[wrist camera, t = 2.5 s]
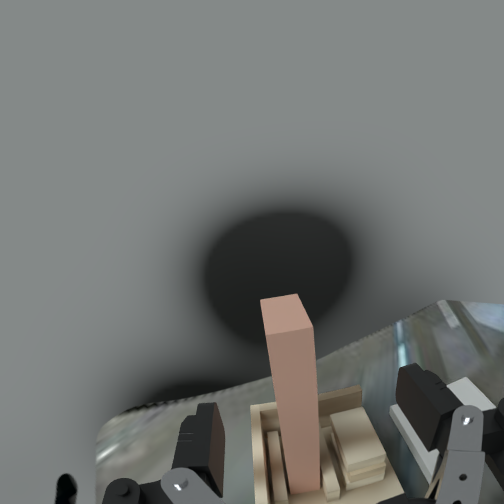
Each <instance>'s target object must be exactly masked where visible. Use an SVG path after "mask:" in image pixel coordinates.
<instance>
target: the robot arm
mask: <svg viewBox="0 0 504 504" xmlns="http://www.w3.org/2000/svg"><path fill="white" fill-rule="evenodd" d="M396 401H397V404H398V406H399V408H400V409H401V411H402V412H403V414H404V415H405V417H406V418H407V420H408V421H409V423H410V424H411V426H412V428H413V429H414V431H415V432H416V434H417V435H418V437H419V439H420V440H421V442H422V443H423V445H424V447H425V448H426V450H427V451H428V452H430V451H433V450H435V449H437V450H438V451H439V454H438V456H437V460H436V464H435V468H434V472H433V475H432V479H431V482H430V486H429V489H428V491H427V494H426V496H425V498H407V496H406V494H405V493H403V494H400V495H397V496H394V497H392V498H389V499H386V500H383V501H380V502H378V503H376V504H478V500H479V495H480V489H481V483H482V476H483V469H484V460H485V462H486V463H487V465H488V467H489V468H490V470H491V471H492V473H493V474H494V476H495V478H496V479H497V481H498V482H499V484H500V486H501V487H502V489H503V491H504V398H503V399H501V400H500V402H499V404H498V407H497V408H494V409H489V410H485V411H481V410H480V409H479V408H478V407H476V406H473V405H464V404H463V403H462V402H461V401H460V400H459V399H458V398H457V397H456V395H455V394H454V393H453V392H452V391H451V390H450V389H449V388H447V386H446V384H445V383H444V382H442V380H441V379H440V378H439V377H438V376H437V375H436V374H434V373H432V372H430V371H428V370H425V371H423V370H422V369H421V368H420V366H419V365H418V364H417V363H413V364H410V365H406V366H403V367H400V368H399V372H398V379H397V387H396ZM224 454H225V431H224V426H223V423H222V420H221V416H220V413H219V409H218V406H217V403H216V402H213V403H200V404H198V406H197V412H196V415H190V416H187V417H186V418H185V420H184V421H183V422H182V423H181V427H180V432H179V436H178V442H177V446H176V450H175V455H174V460H173V464H172V468H171V470H170V471H168V472H167V473H165V474H164V475H163V477H162V479H161V480H159V481H156V482H151V483H146V484H140V485H138V484H137V483H136V482H135V481H134V480H132V479H129V478H120V479H117V480H114V481H113V482H111V483H110V484H109V485H108V487H107V488H106V491H105V495H104V498H103V502H102V504H225V503H224V502H223V501H222V500H221V499H220V498H223V478H224Z"/></svg>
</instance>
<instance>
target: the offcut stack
mask: <svg viewBox="0 0 504 504" xmlns="http://www.w3.org/2000/svg"><path fill="white" fill-rule="evenodd" d="M330 425H331V427H332V430H333V432H330V442H331V445H332V448H333V451H334V455H335V458H336V461H337V464H338V467H339V470H340V473H341V476H342V480H343V483H344V486H345V489H346V491H347V490H350V489H354V488H358V487H361V486H364V485H368V484H371V483H374V482H377V481H380V480H383V478H384V474H385V468H386V464H385V462H384V460H385V456H386V452H385V450H384V448H383V446H382V444H381V442H380V440H379V438H378V436H377V434H376V432H375V430H374V428H373V426H372V424H371V422H370V420H369V418H368V416H367V414H366V412H365V410H364V408H363V406H362V407H359V408H355V409H351V410H347V411H343V412H339V413H335V414H331V415H330Z"/></svg>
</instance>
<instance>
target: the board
mask: <svg viewBox="0 0 504 504" xmlns="http://www.w3.org/2000/svg"><path fill="white" fill-rule="evenodd" d="M260 302H261V308H262V314H263V321H264V327H265V334H266V340H267V346H268V353H269V359H270V365H271V372H272V378H273V385H274V391H275V397H276V404H277V410H278V417H279V423H280V429H281V436H282V442H283V449H284V455H285V461H286V468H287V474H288V480H289V487H290V493H291V495H292V494H298V493H304V492H309V491H314V490H319V489H320V448H319V417H318V395H317V376H316V361H315V346H314V334H313V326H312V324H311V322H310V320H309V318H308V316H307V313H306V312H305V309H304V307H303V305H302V303H301V301H300V299H299V297H298V295H297V294H292V295H287V296H281V297H275V298H269V299H262V300H260Z"/></svg>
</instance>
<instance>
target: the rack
mask: <svg viewBox="0 0 504 504" xmlns="http://www.w3.org/2000/svg"><path fill="white" fill-rule="evenodd" d="M317 395H318V417H319V448H320V489H319V490H314V491H309V492H304V493H298V494H292V495H291V493H290V487H289V480H288V474H287V468H286V461H285V455H284V449H283V442H282V436H281V429H280V423H279V417H278V410H277V404H276V402H272V403H266V404H258V405H251V427H252V447H253V466H254V485H255V503H256V504H376V503H378V502H380V501H383V500H386V499H389V498H392V497H394V496H397V495H400V494H403V493H404V491H403V489H402V487H401V484H400V482H399V480H398V478H397V476H396V474H395V472H394V470H393V468H392V466H391V464H390V461H389V459H388V457H387V455H386V456H385V460H384V462H385V464H386V468H385V474H384V478H383V480H380V481H377V482H374V483H371V484H368V485H364V486H361V487H358V488H354V489H350V490H347V491H346V489H345V486H344V483H343V480H342V476H341V473H340V470H339V467H338V464H337V461H336V458H335V455H334V451H333V448H332V445H331V442H330V432H333V430H332V427H331V425H330V415H331V414H335V413H339V412H343V411H347V410H351V409H355V408H359V407H361V402H362V389H361V387H360V385H356V386H352V387H348V388H344V389H340V390H335V391H331V392H326V393H322V394H317Z"/></svg>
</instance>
